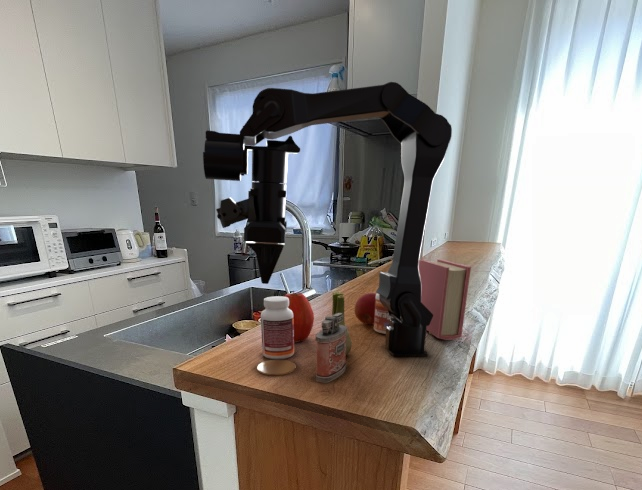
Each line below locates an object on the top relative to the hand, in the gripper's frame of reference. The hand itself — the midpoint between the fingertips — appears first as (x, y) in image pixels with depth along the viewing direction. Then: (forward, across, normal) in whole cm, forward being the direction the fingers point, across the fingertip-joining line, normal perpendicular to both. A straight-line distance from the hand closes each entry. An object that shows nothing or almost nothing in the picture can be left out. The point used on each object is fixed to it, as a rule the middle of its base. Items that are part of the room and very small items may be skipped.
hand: (266, 277), depth 68 cm
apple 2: (+12, -17, +25) cm, 32 cm away
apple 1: (+15, -9, +6) cm, 19 cm away
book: (+6, -13, +34) cm, 37 cm away
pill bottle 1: (+15, 0, +3) cm, 15 cm away
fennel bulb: (+14, +1, +14) cm, 20 cm away
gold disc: (+14, +7, +2) cm, 16 cm away
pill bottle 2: (+14, -14, +27) cm, 33 cm away
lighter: (+14, +10, +12) cm, 21 cm away
